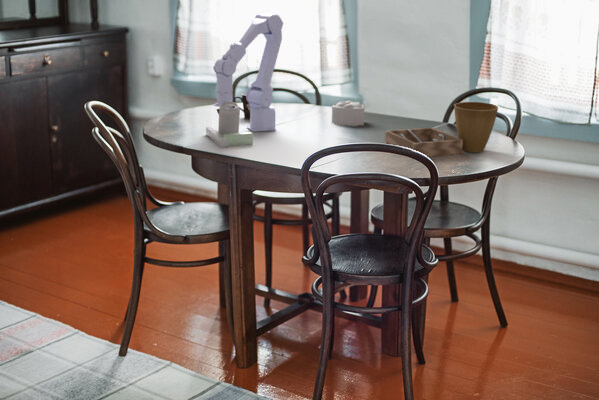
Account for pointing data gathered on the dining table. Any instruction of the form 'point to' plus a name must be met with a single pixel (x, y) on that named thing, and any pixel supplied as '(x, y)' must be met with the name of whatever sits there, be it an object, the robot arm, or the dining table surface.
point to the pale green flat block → (229, 138)
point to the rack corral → (426, 141)
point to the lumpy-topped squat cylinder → (348, 113)
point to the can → (228, 118)
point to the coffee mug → (244, 106)
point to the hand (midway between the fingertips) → (225, 127)
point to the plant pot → (474, 124)
